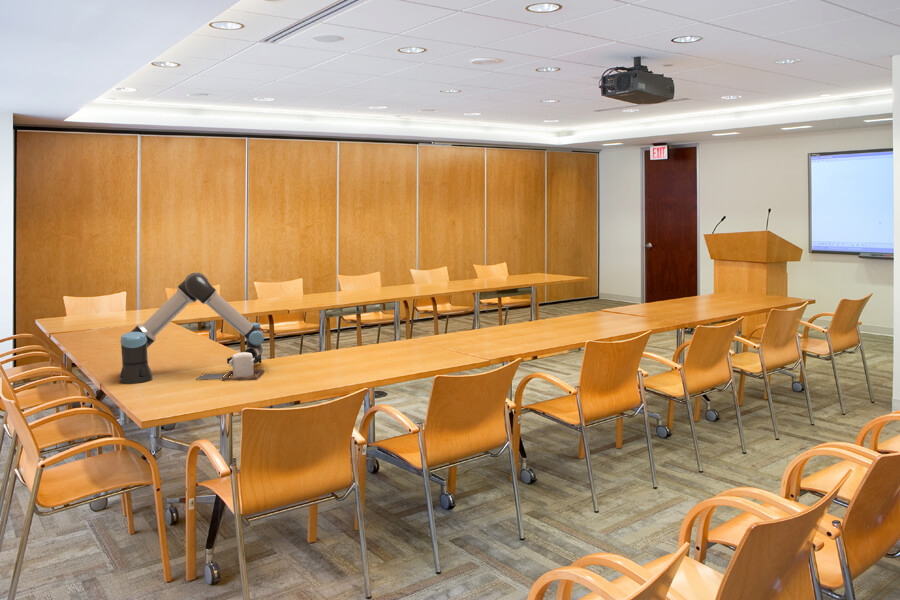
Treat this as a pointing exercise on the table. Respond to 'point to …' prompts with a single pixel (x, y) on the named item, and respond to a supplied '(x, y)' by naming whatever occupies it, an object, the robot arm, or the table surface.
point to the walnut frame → (259, 373)
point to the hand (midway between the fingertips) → (240, 363)
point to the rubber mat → (211, 376)
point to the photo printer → (242, 365)
